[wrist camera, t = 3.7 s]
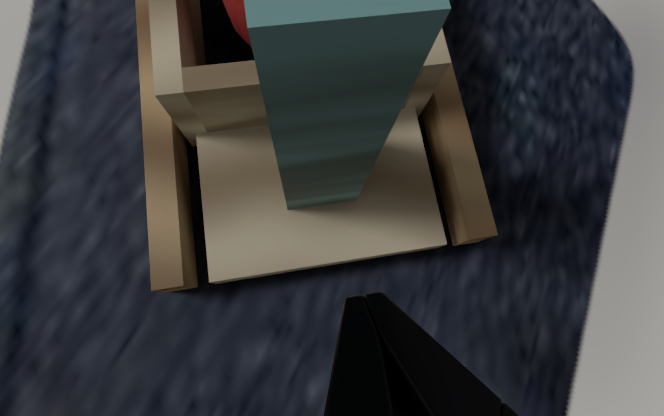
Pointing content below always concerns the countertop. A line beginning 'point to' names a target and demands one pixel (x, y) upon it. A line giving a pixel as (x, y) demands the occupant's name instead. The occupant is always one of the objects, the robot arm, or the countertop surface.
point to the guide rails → (174, 188)
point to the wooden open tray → (307, 130)
